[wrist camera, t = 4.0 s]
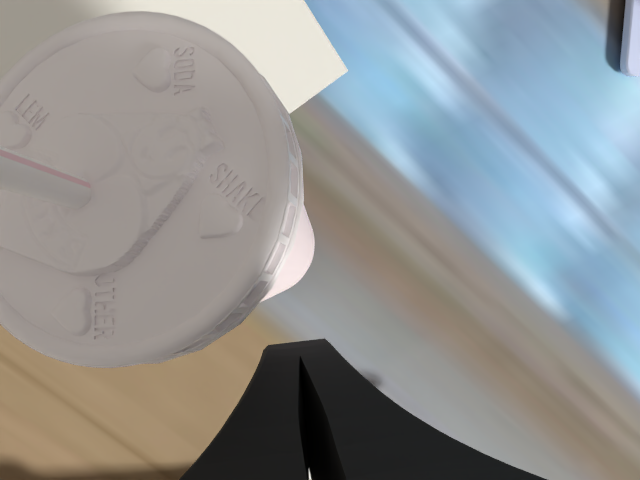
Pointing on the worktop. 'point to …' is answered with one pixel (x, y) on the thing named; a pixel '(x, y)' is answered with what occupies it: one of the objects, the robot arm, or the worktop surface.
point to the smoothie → (143, 192)
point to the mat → (210, 11)
